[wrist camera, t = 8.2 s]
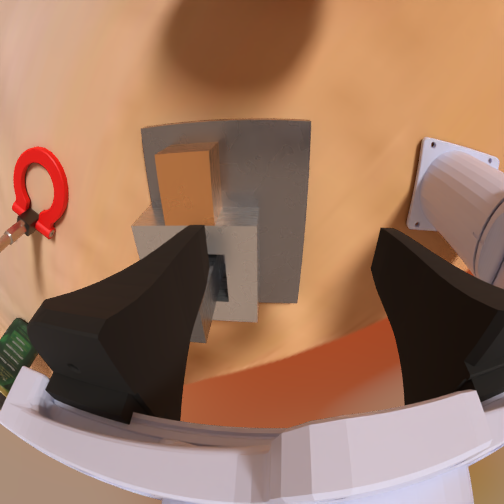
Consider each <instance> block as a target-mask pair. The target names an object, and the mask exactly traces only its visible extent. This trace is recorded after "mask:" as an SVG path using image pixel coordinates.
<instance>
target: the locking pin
mask: <svg viewBox="0 0 504 504" xmlns="http://www.w3.org/2000/svg"><path fill="white" fill-rule="evenodd" d="M208 258H209V266H210V268H209V274H208V280H207V285H206V289H205V292H204V296H203V299H202V302H201V305H200V308H199V311H198V315H197V318H196V321H195V324H194V327H193V331H192V335H191V339H190V342H199V343H207V338H208V334H209V330H210V326H211V322H212V318H213V314H214V310H215V306H216V302H217V298H218V294H219V290H220V286H221V282H222V278H223V274H224V270H225V268H224V257H223V255H219V254H208Z"/></svg>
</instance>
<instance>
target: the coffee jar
mask: <svg viewBox="0 0 504 504" xmlns="http://www.w3.org/2000/svg"><path fill="white" fill-rule="evenodd" d="M27 325H28V324H27V323H26V322H24V321H23V320H21V319H20V318H16V319H15V320H14V321H13V322H12V324H11V325H10V326H9V328H8V329H7V330H6V332H5V333H4V335H3V336H2V338H1V339H0V410H1V409H2V406H3V404H4V402H5V400H6V398H7V396H8V393H9V391H10V389H11V387H12V385H13V383H14V381H15V379H16V377H17V375H18V374H19V372H20V370H21V368H22V366H26V367H28V368H30V366H31V364H32V363H33V361H34V359H35V358H36V356H37V355H38V352H37V351H36V349H35V348H34V346H33V345H32V343H31V342H30V339H29V337H28V334H27Z"/></svg>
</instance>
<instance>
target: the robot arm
mask: <svg viewBox="0 0 504 504" xmlns="http://www.w3.org/2000/svg"><path fill="white" fill-rule="evenodd" d="M432 142H433V143H434V146H433V147H431V143H432ZM488 160H489V162H488ZM498 167H499V159H498V158H497V157H494V156H492V155H489V154H486V153H483V152H480V151H477V150H473V149H470V148H467V147H463V146H460V145H456V144H453V143H449V142H445V141H441V140H437V139H433V138H429V137H425V138H423V139H422V143H421V150H420V157H419V163H418V170H417V175H416V181H415V186H414V191H413V196H412V201H411V205H410V210H409V214H408V218H407V223H406V224H407V226H408V228H409V229H415V230H429V231H438V232H439V233H440V234H441V235H442V236H443V237H444V239H445V240H446V241H447V242H448V243H449V244H450V246H451V247H452V248H453V249H454V250H455V252H456V253H457V254H458V255H459V257H460V258H461V259H462V260H463V262H464V263H465V264H466V265H467V267H468V268H469V269H470V271H471V272H472V273H473V275H474V276H475V277H474V276H472V275H470V274H468V273H466V272H464V271H463V270H461V269H459V268H457V267H455V266H454V265H452V264H450V263H449V262H447V261H445V260H444V259H442V258H441V257H439V256H437V255H436V254H434V253H433V252H431V251H430V250H428V249H427V248H425V247H424V246H422V245H421V244H419V243H418V242H416V241H415V240H413V239H412V238H410V237H409V236H407V235H405V234H404V233H402V232H400V231H398V230H396V229H394V228H381V229H380V233H379V238H378V242H377V246H376V250H375V254H374V258H373V262H372V266H371V271H372V275H373V279H374V282H375V286H376V289H377V291H378V294H379V296H380V299H381V301H382V304H383V306H384V309H385V311H386V314H387V316H388V319H389V321H390V324H391V326H392V329H393V332H394V336H395V339H396V344H397V348H398V353H399V358H400V364H401V370H402V377H403V387H404V401H405V406H400V407H395V408H390V409H385V410H378V411H372V412H366V413H358V414H351V415H342V416H337V417H332V418H326V419H320V420H313V421H309V422H306V423H303V424H300V425H297V426H294V427H291V428H242V427H225V426H213V425H205V424H195V423H188V422H182V421H180V417H181V403H182V393H183V384H184V376H185V369H186V362H187V356H188V350H189V344H190V339H191V335H192V331H193V327H194V324H195V321H196V318H197V315H198V311H199V308H200V305H201V302H202V299H203V296H204V292H205V289H206V285H207V280H208V274H209V268H210V266H209V258H208V250H207V242H206V233H205V225H189V226H187V227H186V228H184V229H183V230H181V231H180V232H179V233H177V234H176V235H175V236H173V237H172V238H171V239H169V240H168V241H167V242H165V243H164V244H163V245H161V246H160V247H158V248H157V249H156V250H154V251H153V252H151V253H150V254H148V255H147V256H145V257H144V258H143V259H141V260H139V261H138V262H136V263H135V264H133V265H131V266H129V267H128V268H126V269H124V270H122V271H120V272H118V273H116V274H114V275H112V276H110V277H108V278H106V279H104V280H102V281H100V282H97V283H95V284H92V285H90V286H87V287H85V288H82V289H79V290H77V291H74V292H71V293H67V294H64V295H60V296H57V297H53V298H50V299H46V300H44V302H43V303H42V305H41V306H40V307H39V309H38V310H37V312H36V313H35V314H34V316H33V317H32V319H31V320H30V322H29V323H28V325H27V334H28V337H29V339H30V342H31V343H32V345H33V346H34V348H35V349H36V351H37V352H38V353H39V355H40V356H41V357H42V358H43V360H44V361H45V362H46V363H47V365H48V366H49V367H50V368H51V369H52V371H53V374H52V376H51V378H48V377H47V376H46V375H44V374H42V373H40V372H38V371H35V370H33V369H31V368H28V367H26V366H22V368H21V370H20V372H19V374H18V375H17V377H16V379H15V381H14V383H13V385H12V387H11V389H10V391H9V393H8V396H7V398H6V400H5V402H4V404H3V406H2V409H1V411H0V423H1V424H2V425H3V426H4V427H6V428H7V429H8V430H10V431H11V432H13V433H14V434H15V435H17V436H18V437H19V438H21V439H22V440H24V441H25V442H27V443H28V444H30V445H32V446H33V447H35V448H36V449H38V450H39V451H41V452H43V453H44V454H46V455H48V456H50V457H52V458H54V459H55V460H57V461H59V462H61V463H63V464H65V465H67V466H69V467H71V468H73V469H75V470H77V471H79V472H82V473H84V474H86V475H88V476H91V477H93V478H95V479H98V480H100V481H103V482H105V483H108V484H110V485H113V486H116V487H119V488H122V489H125V490H128V491H131V492H134V493H137V494H140V495H144V496H147V497H151V498H155V499H159V500H162V504H474V500H473V493H472V486H471V480H470V475H469V469H468V466H470V465H472V464H474V463H476V462H477V461H479V460H481V459H483V458H485V457H486V456H488V455H490V454H492V453H493V452H495V451H497V450H498V449H500V448H501V447H503V446H504V173H503V172H501V171H500V170H498ZM417 222H418V224H417V225H415V224H416V223H417Z"/></svg>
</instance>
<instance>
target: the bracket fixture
mask: <svg viewBox="0 0 504 504" xmlns="http://www.w3.org/2000/svg"><path fill="white" fill-rule="evenodd" d="M141 134H142V142H143V150H144V158H145V165H146V172H147V178H148V185H149V191H150V197H151V202H152V204H151V205H150V206H149V207H148V208H147V209H146V210H145V211H144V212H143V213H142V215H141V216H140V217H139V218H138V219H137V220H136V221H135V222H134V223H133V225H132V226H131V227H132V231H133V235H134V239H135V243H136V247H137V250H138V254H139V258H140V260H141V259H143V258H144V257H145V256H147V255H148V254H150V253H151V252H153V251H154V250H156V249H157V248H158V247H160V246H161V245H163V244H164V243H165V242H167V241H168V240H169V239H171V238H172V237H173V236H175V235H176V234H177V233H179V232H180V231H181V230H183V229H184V228H186V227H187V226H189V225H205V233H206V242H207V250H208V254H219V255H223V257H224V268H225V270H224V274H223V278H222V282H221V286H220V290H219V294H218V298H217V302H216V306H215V310H214V314H213V318H212V320H221V321H238V322H258V312H259V302H265V303H297V300H298V292H299V283H300V274H301V264H302V254H303V244H304V233H305V221H306V208H307V194H308V178H309V160H310V138H311V121H310V120H300V119H220V120H204V121H191V122H181V123H171V124H163V125H155V126H148V127H144V128H142V129H141Z"/></svg>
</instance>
